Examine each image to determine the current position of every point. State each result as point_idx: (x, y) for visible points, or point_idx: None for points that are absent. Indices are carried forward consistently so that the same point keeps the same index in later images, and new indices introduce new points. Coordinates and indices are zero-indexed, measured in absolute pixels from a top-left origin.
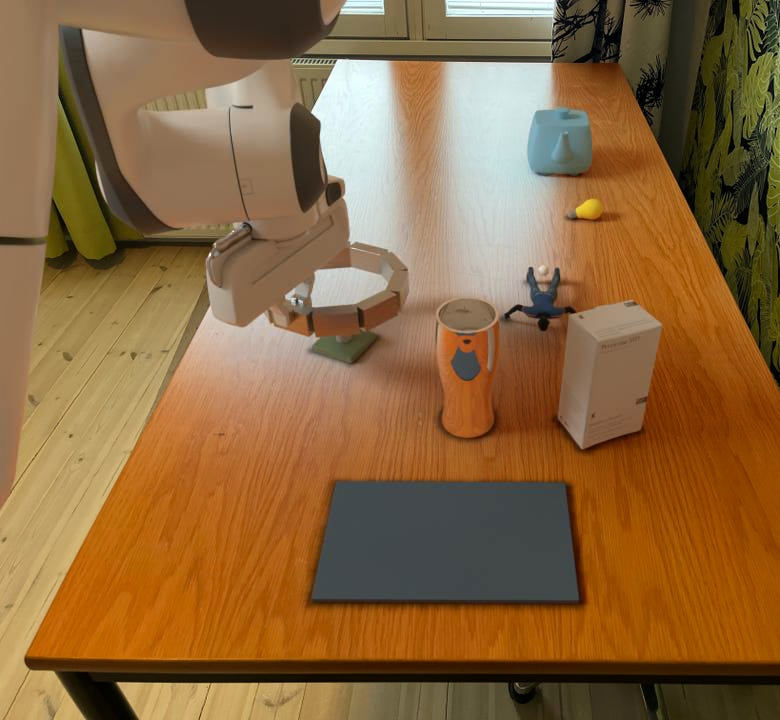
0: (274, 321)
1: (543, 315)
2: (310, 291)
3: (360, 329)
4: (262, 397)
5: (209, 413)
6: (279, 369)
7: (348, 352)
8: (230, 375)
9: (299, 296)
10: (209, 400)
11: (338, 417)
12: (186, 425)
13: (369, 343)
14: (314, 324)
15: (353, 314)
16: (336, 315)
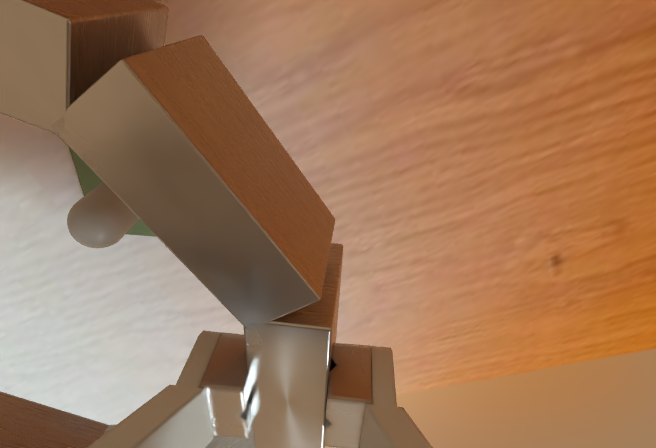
0: None
1: None
2: (165, 403)
3: (78, 161)
4: (415, 247)
5: (494, 311)
6: None
7: None
8: (370, 332)
9: (219, 415)
10: (455, 328)
11: (433, 20)
12: (538, 327)
13: None
14: (326, 260)
15: (155, 83)
16: (234, 185)
